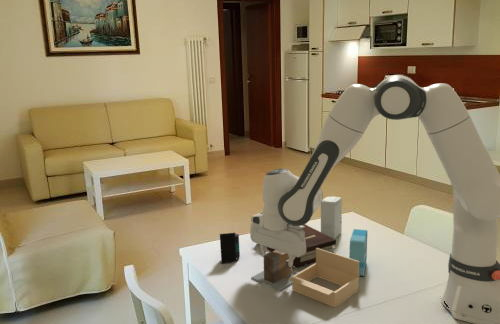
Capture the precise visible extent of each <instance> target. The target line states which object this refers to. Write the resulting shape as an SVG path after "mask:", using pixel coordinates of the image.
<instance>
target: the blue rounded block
mask: <svg viewBox="0 0 500 324" xmlns="http://www.w3.org/2000/svg"><path fill="white" fill-rule="evenodd" d="M367 250H368V230H367V229H358V228H357V229H356V228H353V230H352V233H351V237H350V240H349V257H348V258H350V259H354V260H357V261H359V277H364V275H365V271H366V266H367V257H368V253H367V252H368V251H367Z"/></svg>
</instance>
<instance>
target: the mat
mask: <svg viewBox="0 0 500 324" xmlns="http://www.w3.org/2000/svg"><path fill="white" fill-rule="evenodd" d="M297 273H298V272H296V271H294V270H292V273H291V274H290V275H288V276H286V277H284V278H283V279H281V280H279V281H277V282H276V283H271V282H269V281H267V280H264V270H262V271H261V272H258V273H257V274H255V275H252V276H251V278H250V279H251V280H253V281H256V282H258V283H260V284H263V285H265V286H267V287H270V288H272V289H275V290H277V291H280V292H281V291H283V290H285V289H286V288H288V287H290V286H291V285H292V281H290V280H289V279H290V278H291V277H292V276H294V275H296V274H297Z"/></svg>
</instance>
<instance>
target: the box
mask: <svg viewBox="0 0 500 324" xmlns="http://www.w3.org/2000/svg"><path fill="white" fill-rule="evenodd" d="M289 258H290V257H288V254H287V253H284V252H281V251H278V250H275V251H273V252H271V251H270V253H268V254H266V255H264V257H263V271H264V280H267V281H269V282H271V283H276V282H277V281H279V280H281V279H283V278H284V277H286V276H288V275H290V274H291V273H292V271H293V266H291V267H289V266H286V261H287V260H288V259H289Z"/></svg>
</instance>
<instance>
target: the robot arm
mask: <svg viewBox="0 0 500 324" xmlns="http://www.w3.org/2000/svg"><path fill="white" fill-rule="evenodd" d="M379 115H381V116H382V117H384V118H386V119H388V120H394V121H395V120H396V121H398V120H405V119H412V118H418V119H419V120H420V122H421V123H422V125H423V127H424V130H425V131H426V133H427V136H428V138H429V140H430V142H431V144H432V147H433V148H434V151H435V152H436V154H437V157H438V158H439V161H440V162H441V164H442V167H443V169H444V171H445V172H446V175H447V177H448V180H449V181H450V183H451V185H452V187H453V207H452V209H453V213H452V214H453V215H452V216H453V230H452V231H453V232H452V244H451V253H450V254H449V258H448V266H447V267H448V278H447V283H446V286H445V288H444V289H445V290H444V292H443V294H442V296H441V298H440V299H441V303H442V305H443V306H444V307H445V309H447V310H448V311H449V312H450V313H451V315H452V317H453V318H454V319H456V320H459V321H461V322H463V321H464V322H466V323H471V324H500V262H499V261H498V260H497V257H498V247H499V238H500V230H499V218H500V172H499V170H498V169H497V167H496V165H495V163H494V161H493V160H492V157H491V155H490V154H489V152H488V150H487V148H486V146H485V144H484V143H483V140H482V138H481V137H480V134H479V131H478V130H477V128H476V126H475V124H474V122H473V120H472V118H471V115H470V114H469V111H468V109H467V108H466V106H465V104H464V103H463V101H462V99H461V98H460V96H459V94H457V92H456V91H455V90H454V88H453V87H452V86H451V85H450V84H448V83H443V82H440V83H434V84H430V85H428V86H424V87H421V86H419V84H417V82H416V81H414V79H412V78H411V77H410V76H407V75H405V74H394V75H390V76H388V77H385V78H384V79H383V80H381V81H380V82H379V83H377V84H375V85H374V86H373V87H369V86H367V85H365V84H361V83H353V84H351V85H349V86H347V87H346V88H345V89H344V91H343V92H342V93H341V94H340V96H339V97H338V98H337V100H336V101H335V103H334V105H333V106H332V108H331V109H330V111H329V113H328V115H327V117H326V118H325V121H324V123H323V125H322V127H321V130H320V134H319V135H318V139H317V142H316V143H315V147H314V149H313V152H312V154H311V157H310V159H309V160H308V163H307V164H306V166H305V167H304V169H303V171H302V173H301V174H300V177H299V176H297V175H295V174H293V172H291V171H290V169H288V168H275V169H273V170H270V171H267V172H266V174H265V175H264V177H263V182H262V200H263V201H262V202H263V208H262V212H258V213H256V214H253V215H251V216H250V222H251V224H250V228H249V229H250V231H249V232H250V233H249V234H250V240H251V241H252V242H253V243H256V244H258V245H259V248H260V250H261V251H262V258H264V255H266V254H268V253H271V251H269V250H267V247H269V248H272V249H275V250H278V251H281V252H284V253H287V254H288V257H290V258H289V259H288V260H287V261H286V266H289V267H291V266H292V267H294V266H293V260H294V259H295V257H300V256H302V255H304V254H305V253H306V241H305V232H304V231H303V230H302V229H301V227H299V226H301V225H304V224H305V225H307V223H308V222H309V221H310V220H311V218H312V217H313V215H314V213H315V212H316V211H317V209H318V208H319V207H320V206H321V202H322V200H323V199H324V195H323V191H322V186H323V184H324V182H325V180H326V179H327V177H328V176H329V174H330V172H331V171H332V170H333V169H334V167H335V166H337V164H338V163H339V162H340V161H342V159H344V158H345V157H346V156H347V155H348V154H349V153H350V152H351V151H352V150H353V149H354V147H356V145H358V143H359V141H360V140H361V139H362V137H363V135H364V134H365V132H366V131H367V128H368V127H369V125H370V123H371V122H372V121H373V119H374V118H375V117H377V116H379ZM444 301H445V303H446V304H447V305H448V307H449V308H448V307H446V305H445V304H444Z"/></svg>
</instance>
